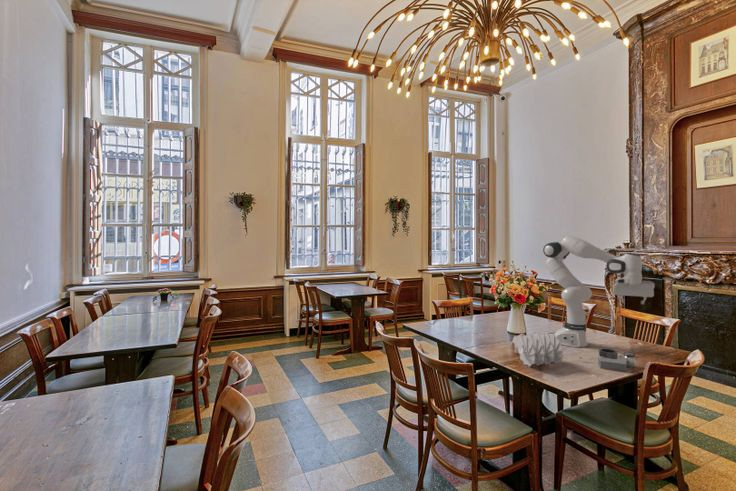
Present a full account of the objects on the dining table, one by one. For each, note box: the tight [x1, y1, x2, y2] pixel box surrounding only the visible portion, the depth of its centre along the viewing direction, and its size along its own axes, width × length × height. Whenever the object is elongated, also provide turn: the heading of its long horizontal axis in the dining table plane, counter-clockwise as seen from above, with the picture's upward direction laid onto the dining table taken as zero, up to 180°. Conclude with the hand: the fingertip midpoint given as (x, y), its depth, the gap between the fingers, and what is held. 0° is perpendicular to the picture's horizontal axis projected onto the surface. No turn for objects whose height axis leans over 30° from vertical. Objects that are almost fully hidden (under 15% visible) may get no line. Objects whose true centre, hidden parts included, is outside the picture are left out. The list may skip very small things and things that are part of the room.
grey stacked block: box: [597, 347, 627, 372], centre depth 212 cm, size 12×9×9 cm
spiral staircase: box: [511, 331, 564, 368], centre depth 216 cm, size 18×18×25 cm
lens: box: [622, 352, 636, 369], centre depth 214 cm, size 5×5×7 cm
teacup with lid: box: [510, 333, 525, 355], centre depth 237 cm, size 12×9×12 cm
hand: (632, 303), depth 227 cm, fingers open, 8 cm apart
